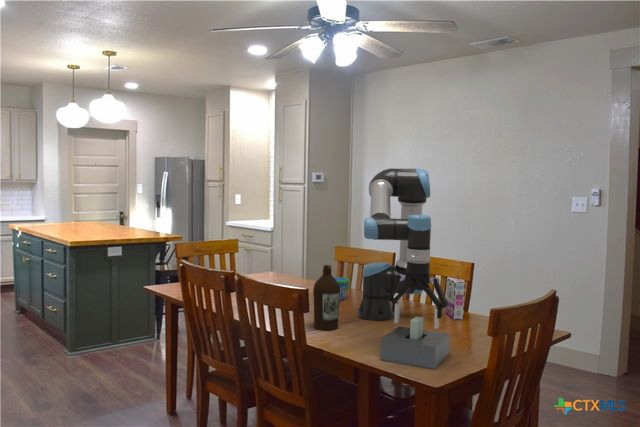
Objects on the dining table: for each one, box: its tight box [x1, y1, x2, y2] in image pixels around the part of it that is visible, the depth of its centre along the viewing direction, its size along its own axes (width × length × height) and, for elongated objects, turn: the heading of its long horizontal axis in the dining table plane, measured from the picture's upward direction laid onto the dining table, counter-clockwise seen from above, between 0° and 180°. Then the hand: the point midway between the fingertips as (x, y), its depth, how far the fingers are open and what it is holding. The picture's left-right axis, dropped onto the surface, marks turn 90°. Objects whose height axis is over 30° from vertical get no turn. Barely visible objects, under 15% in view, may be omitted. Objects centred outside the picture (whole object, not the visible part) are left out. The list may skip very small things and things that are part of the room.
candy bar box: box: [445, 277, 466, 321], centre depth 237 cm, size 11×5×16 cm, turn 5°
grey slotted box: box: [379, 326, 451, 370], centre depth 181 cm, size 18×18×7 cm
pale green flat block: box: [409, 316, 424, 340], centre depth 180 cm, size 2×6×12 cm, turn 153°
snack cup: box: [333, 276, 350, 301], centre depth 269 cm, size 16×10×10 cm
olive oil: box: [312, 264, 341, 332], centre depth 215 cm, size 11×11×25 cm
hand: (416, 325), depth 180 cm, fingers open, 13 cm apart
